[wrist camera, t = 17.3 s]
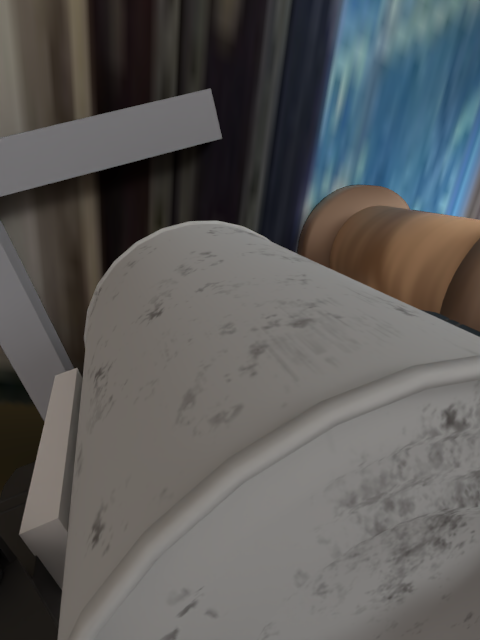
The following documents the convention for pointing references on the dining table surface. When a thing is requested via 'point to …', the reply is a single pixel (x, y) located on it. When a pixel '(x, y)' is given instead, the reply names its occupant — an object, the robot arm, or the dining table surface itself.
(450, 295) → the bobbin
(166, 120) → the c-shaped bracket
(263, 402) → the white scuffed cylinder
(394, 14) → the dining table surface
